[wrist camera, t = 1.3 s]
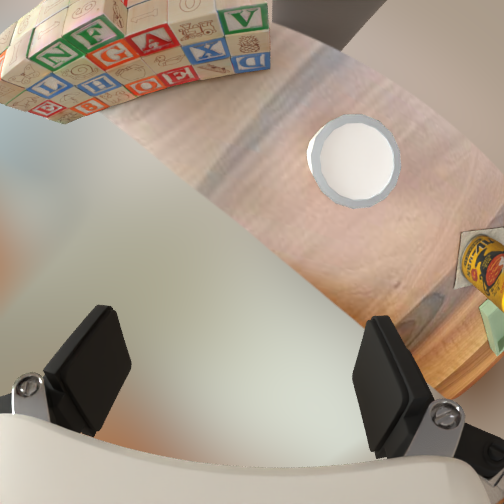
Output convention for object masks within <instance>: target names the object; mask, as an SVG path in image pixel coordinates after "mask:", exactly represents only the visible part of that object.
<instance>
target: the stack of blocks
mask: <svg viewBox="0 0 504 504" xmlns="http://www.w3.org/2000/svg"><path fill="white" fill-rule="evenodd" d="M266 69H270V30H269V20H268V6H267V2H266V0H46V1H45V2H43V3H41V4H40V5H38V6H37V7H35V8H34V9H33V10H31V11H30V12H29V13H27V14H26V15H25V16H23V17H22V18H21V19H20V20H18V21H17V22H15V23H14V24H12V25H11V26H10V27H9V28H8V29H6V30H5V31H4V32H3V33H2V34H0V103H1V104H5V105H6V106H9V107H12V108H15V109H18V110H21V111H28V112H30V113H33V114H36V115H40V116H43V117H46V118H48V119H49V120H52V121H55V122H59V123H62V124H67V123H69V122H72V121H74V120H76V119H79V118H81V117H83V116H87V115H90V114H93V113H95V112H98V111H100V110H103V109H106V108H108V107H110V106H114V105H117V104H120V103H123V102H126V101H129V100H132V99H135V98H137V97H138V96H141V95H144V94H148V93H151V92H154V91H158V90H161V89H165V88H167V87H171V86H174V85H179V84H183V83H187V82H192V81H196V80H199V79H201V80H205V79H210V78H215V77H220V76H226V75H232V74H235V73H244V72H251V71H258V70H266Z"/></svg>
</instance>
